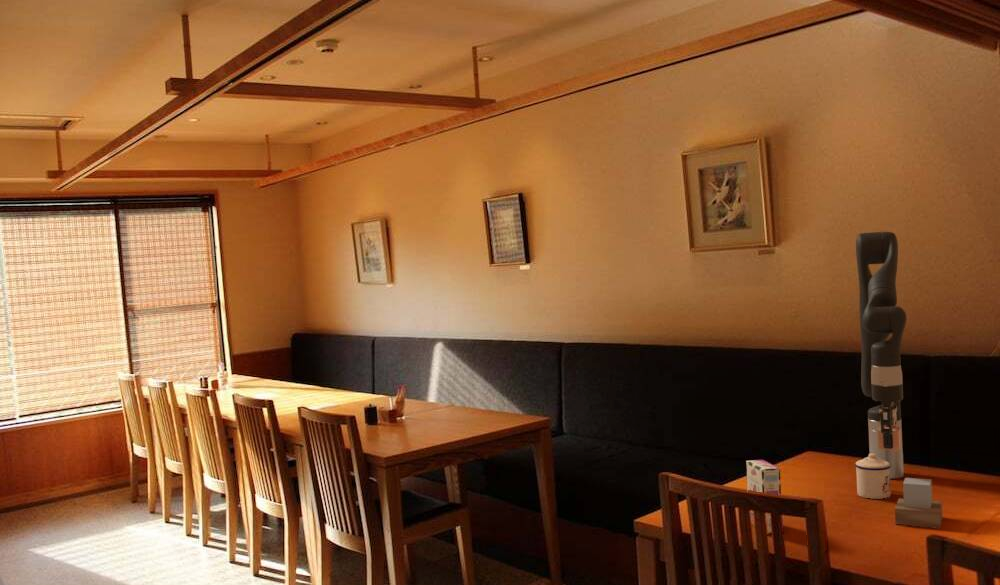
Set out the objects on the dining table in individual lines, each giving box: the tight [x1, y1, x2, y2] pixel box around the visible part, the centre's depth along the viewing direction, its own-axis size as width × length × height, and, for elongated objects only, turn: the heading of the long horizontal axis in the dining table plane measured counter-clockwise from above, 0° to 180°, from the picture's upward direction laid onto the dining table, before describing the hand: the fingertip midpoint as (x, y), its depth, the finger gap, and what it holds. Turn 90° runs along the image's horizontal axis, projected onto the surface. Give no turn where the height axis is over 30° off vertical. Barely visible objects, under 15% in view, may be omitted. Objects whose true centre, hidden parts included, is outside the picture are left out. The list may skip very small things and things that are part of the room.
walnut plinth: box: [894, 497, 943, 529], centre depth 219 cm, size 10×10×4 cm
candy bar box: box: [745, 459, 782, 535], centre depth 220 cm, size 11×5×16 cm, turn 5°
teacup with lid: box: [854, 453, 892, 500], centre depth 244 cm, size 12×9×12 cm
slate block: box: [902, 477, 933, 509], centre depth 219 cm, size 6×6×6 cm
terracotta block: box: [878, 427, 901, 450], centre depth 229 cm, size 5×5×5 cm
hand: (889, 445), depth 229 cm, fingers closed on terracotta block, 5 cm apart
